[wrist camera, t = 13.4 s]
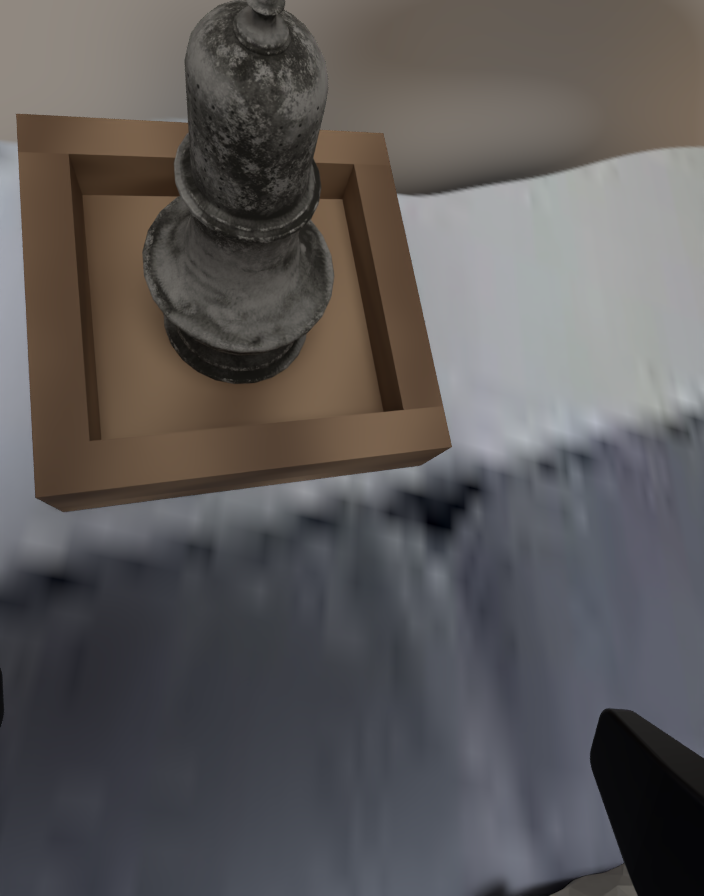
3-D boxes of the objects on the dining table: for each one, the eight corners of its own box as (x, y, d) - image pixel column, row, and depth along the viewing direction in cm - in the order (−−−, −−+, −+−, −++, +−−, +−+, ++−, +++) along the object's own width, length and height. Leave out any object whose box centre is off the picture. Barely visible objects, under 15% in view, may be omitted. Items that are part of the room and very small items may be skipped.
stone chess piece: (129, 361, 19) (2, 19, 7) (185, 226, 21) (150, -215, 9) (291, 412, 20) (395, 179, 8) (331, 279, 21) (460, -60, 10)
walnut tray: (63, 511, 18) (35, 497, 15) (43, 178, 21) (16, 113, 18) (420, 465, 22) (452, 446, 19) (363, 186, 24) (383, 133, 21)
